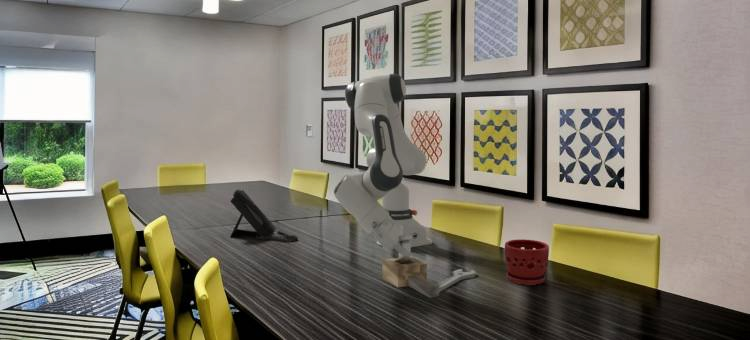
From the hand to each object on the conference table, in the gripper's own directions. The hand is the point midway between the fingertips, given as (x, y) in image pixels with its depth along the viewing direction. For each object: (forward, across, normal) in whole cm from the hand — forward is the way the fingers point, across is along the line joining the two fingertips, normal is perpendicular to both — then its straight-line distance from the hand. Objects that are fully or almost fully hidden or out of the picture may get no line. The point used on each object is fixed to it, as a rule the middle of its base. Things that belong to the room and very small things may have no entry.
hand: (406, 252), depth 165 cm
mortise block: (+8, -5, +4) cm, 11 cm away
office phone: (-39, +57, +52) cm, 86 cm away
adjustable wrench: (+16, +2, -3) cm, 17 cm away
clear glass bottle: (+3, 0, +4) cm, 5 cm away
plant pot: (+32, +6, -19) cm, 38 cm away
